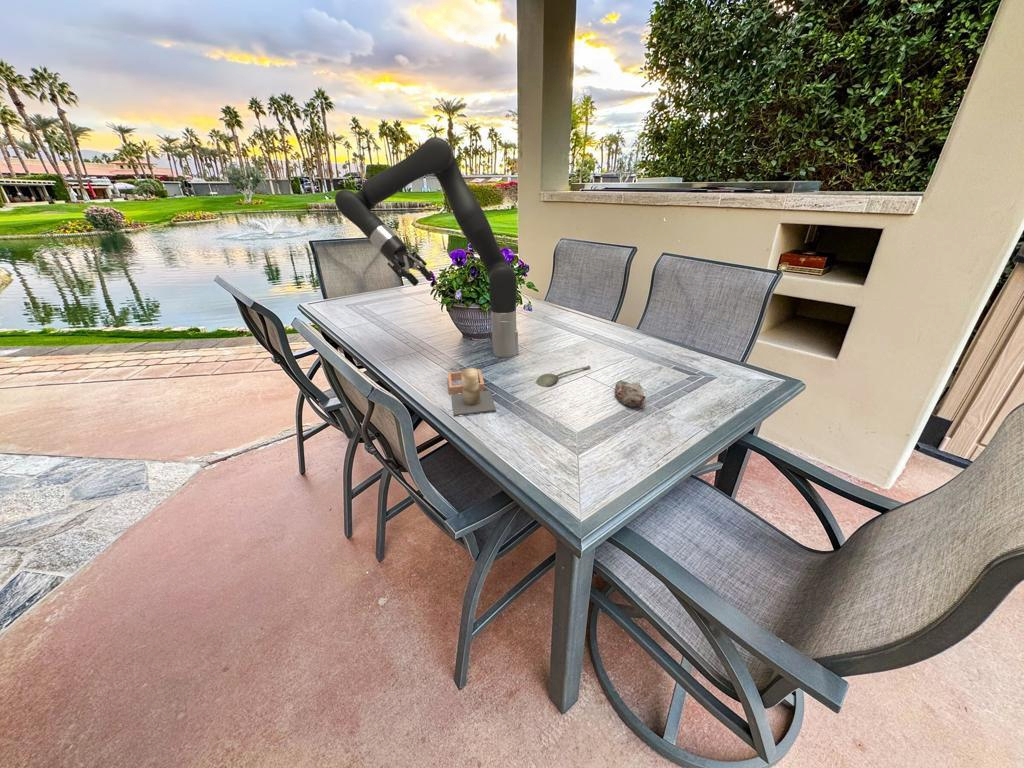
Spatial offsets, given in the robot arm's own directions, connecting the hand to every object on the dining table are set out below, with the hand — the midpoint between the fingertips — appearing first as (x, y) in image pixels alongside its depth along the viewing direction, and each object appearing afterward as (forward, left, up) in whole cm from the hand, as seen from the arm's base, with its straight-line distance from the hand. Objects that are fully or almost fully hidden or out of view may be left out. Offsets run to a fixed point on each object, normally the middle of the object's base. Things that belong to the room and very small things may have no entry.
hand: (423, 281), depth 128 cm
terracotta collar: (-10, +17, -31) cm, 37 cm away
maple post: (-11, +30, -30) cm, 44 cm away
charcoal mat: (-11, +30, -31) cm, 44 cm away
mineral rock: (-57, +38, -31) cm, 75 cm away
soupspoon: (-43, +19, -31) cm, 56 cm away
